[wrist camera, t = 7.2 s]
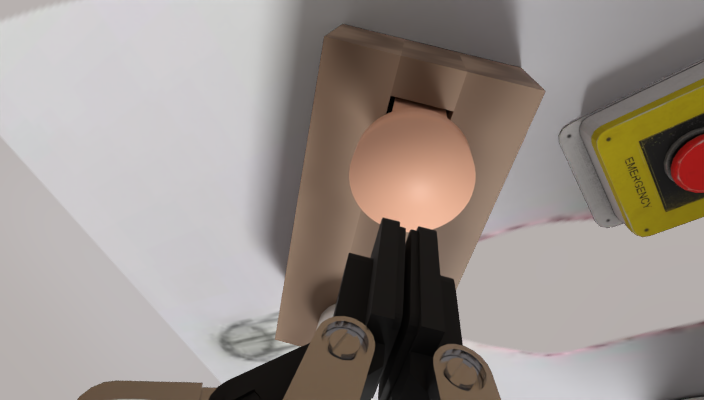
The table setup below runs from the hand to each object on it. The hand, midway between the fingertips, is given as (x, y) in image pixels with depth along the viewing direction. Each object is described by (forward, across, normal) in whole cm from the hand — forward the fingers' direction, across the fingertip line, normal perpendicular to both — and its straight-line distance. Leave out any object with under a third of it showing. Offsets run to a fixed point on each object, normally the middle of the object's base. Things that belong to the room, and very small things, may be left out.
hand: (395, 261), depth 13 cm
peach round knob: (+14, -1, 0) cm, 14 cm away
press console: (+18, -1, +8) cm, 20 cm away
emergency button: (+19, -19, -2) cm, 27 cm away
